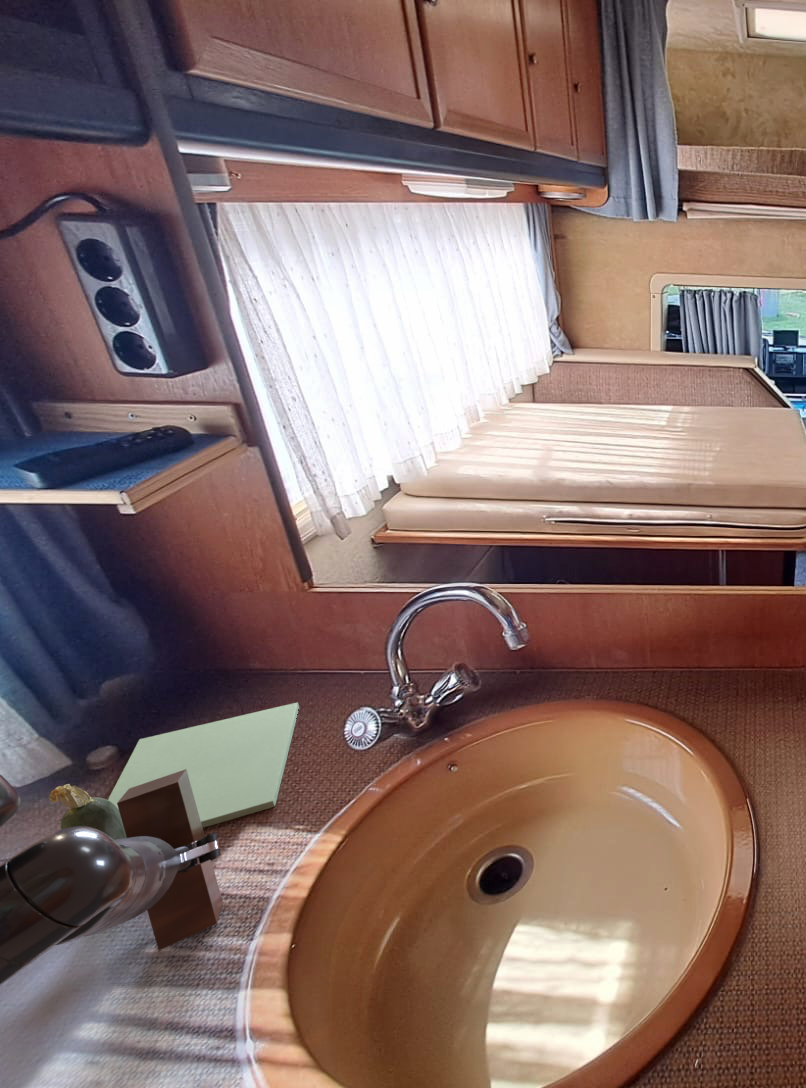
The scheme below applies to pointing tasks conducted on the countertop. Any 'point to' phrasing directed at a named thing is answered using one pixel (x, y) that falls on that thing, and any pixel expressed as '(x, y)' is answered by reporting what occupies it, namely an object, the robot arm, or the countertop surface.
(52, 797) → the vegetable
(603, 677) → the countertop surface
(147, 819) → the walnut block
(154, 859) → the robot arm
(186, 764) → the cutting board
